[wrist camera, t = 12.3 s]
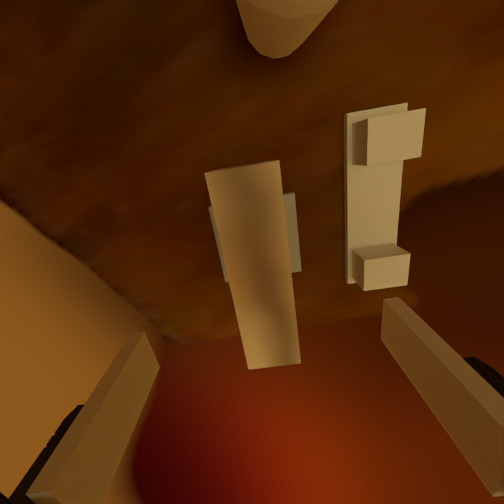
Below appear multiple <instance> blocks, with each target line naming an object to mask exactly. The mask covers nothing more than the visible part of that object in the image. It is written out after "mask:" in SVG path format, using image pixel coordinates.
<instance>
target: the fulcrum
mask: <svg viewBox="0 0 504 504" xmlns="http://www.w3.org/2000/svg"><path fill="white" fill-rule="evenodd" d="M283 200H284V210H285V219H286V228H287V238H288V247H289V256H290V266H291V273H292V272H299V271H301V260H300V249H299V237H298V226H297V215H296V203H295V193H294V192H288V193H283ZM208 208H209V213H210V217H211V221H212V226H213V230H214V234H215V239H216V243H217V247H218V252H219V256H220V260H221V265H222V269H223V273H224V278H225V282H229V280H228V276H227V271H226V267H225V262H224V258H223V253H222V249H221V244H220V240H219V236H218V231H217V227H216V222H215V218H214V213H213V209H212V205H210V206H209V207H208Z"/></svg>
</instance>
